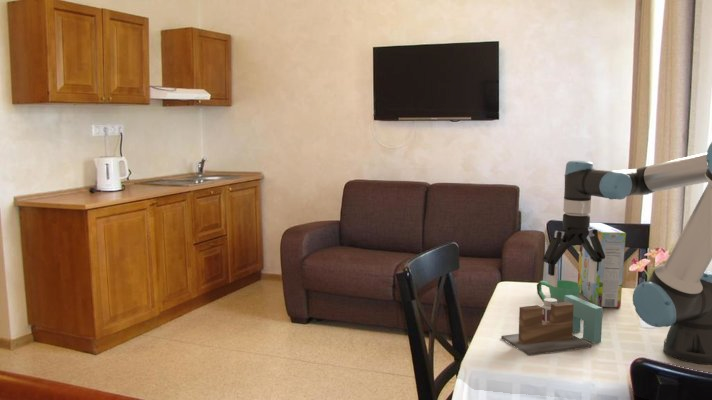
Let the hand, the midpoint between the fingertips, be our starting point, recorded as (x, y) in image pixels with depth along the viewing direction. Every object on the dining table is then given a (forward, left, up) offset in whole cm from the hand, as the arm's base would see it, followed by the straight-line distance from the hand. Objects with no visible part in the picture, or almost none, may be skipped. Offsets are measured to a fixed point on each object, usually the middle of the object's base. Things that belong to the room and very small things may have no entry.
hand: (572, 284), depth 190 cm
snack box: (+24, -29, -14) cm, 41 cm away
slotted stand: (-7, +14, -14) cm, 21 cm away
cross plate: (-5, 0, -14) cm, 15 cm away
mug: (+16, -6, -14) cm, 22 cm away
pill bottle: (+5, +4, -14) cm, 16 cm away
